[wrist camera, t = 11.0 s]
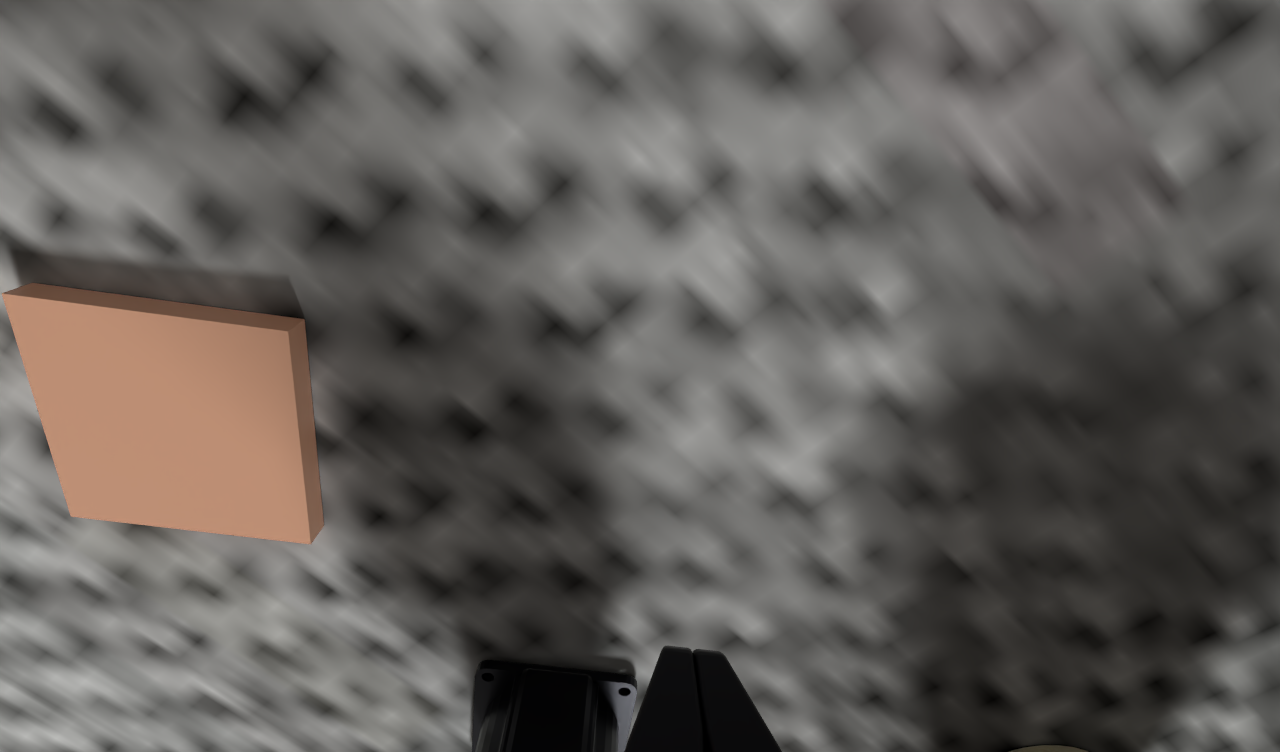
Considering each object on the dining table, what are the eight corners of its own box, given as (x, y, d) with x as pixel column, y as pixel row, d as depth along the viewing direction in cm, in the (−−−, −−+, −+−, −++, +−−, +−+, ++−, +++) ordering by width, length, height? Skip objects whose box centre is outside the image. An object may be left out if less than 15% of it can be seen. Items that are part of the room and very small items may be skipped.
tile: (323, 525, 23) (310, 544, 22) (93, 498, 23) (70, 516, 22) (304, 319, 20) (287, 331, 19) (31, 282, 19) (1, 293, 18)
